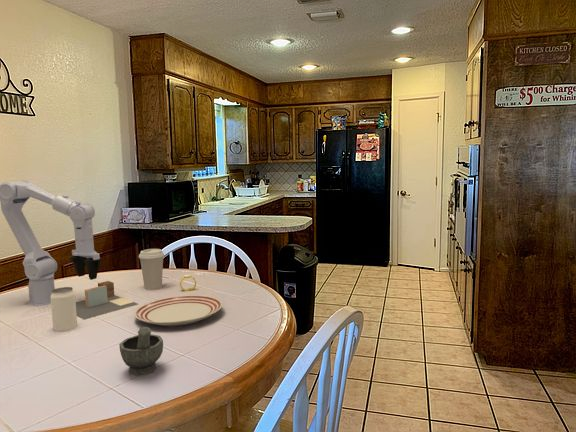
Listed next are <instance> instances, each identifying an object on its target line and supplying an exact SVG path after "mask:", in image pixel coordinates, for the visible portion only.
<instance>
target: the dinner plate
mask: <svg viewBox="0 0 576 432" xmlns="http://www.w3.org/2000/svg"><path fill="white" fill-rule="evenodd" d="M222 307H223V301H222V300H221V299H219V298H216V297H213V296H209V295H201V294H200V295H197V294H195V295H193V294H189V295H188V294H187V295H178V296H177V295H176V296H169V297H164V298H159V299H156V300H153V301H149V302H147V303H144V304H142V305H140V306H139V307H137V308H136V309H135V310H134V312H133V315H134V317H135V318H136V319H137V320H138V321H141V322H144V323H147V324H151V325H156V326H164V327H177V326H186V325H191V324H195V323H197V322H200V321H202V320H205V319H207V318H209V317H212V316H213V315H215V314H216V313H217V312H219V311H220V310H221V309H222Z"/></svg>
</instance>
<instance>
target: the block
mask: <svg viewBox="0 0 576 432" xmlns="http://www.w3.org/2000/svg"><path fill="white" fill-rule="evenodd" d="M114 284H115V283H114V282H112V281H111V280H110V281H109V280H106V281H101V282H98V283H97V287H99V286H104V285H105V286H107V297H112V296H114V295H115V285H114Z"/></svg>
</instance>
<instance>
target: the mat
mask: <svg viewBox="0 0 576 432" xmlns="http://www.w3.org/2000/svg"><path fill="white" fill-rule="evenodd" d="M75 302H76V314H77V317H78V318H79V319H82V320H88V319H92V318H96V317H99V316H102V315H106V314H108V313H110V314H111V313H113V312H116V311H119V310H123V309H126V308H130V307H131V308H132V307H134V306H137V305H139V303H138V302H135V301H133V300H129V299H127V298H124V297H121V296H117V295H115V294H114V296H112V297H108V303H105V304H101V305H97V306H94V307H90V308H87V307H86V301H85V299H84V300H79V301H75Z"/></svg>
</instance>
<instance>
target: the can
mask: <svg viewBox="0 0 576 432" xmlns="http://www.w3.org/2000/svg"><path fill="white" fill-rule="evenodd" d="M73 289H74V288H73V287H71V286H63V287H62V286H61V287H57V288H55V289H54V290H52V294H51V303H50V308H51V317H52V330H53V331H54V332H67V331H71V330H73V329H75V328H77V327H78V318H77V314H76V302H77V301H76V294H75V291H74V290H73Z"/></svg>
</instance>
